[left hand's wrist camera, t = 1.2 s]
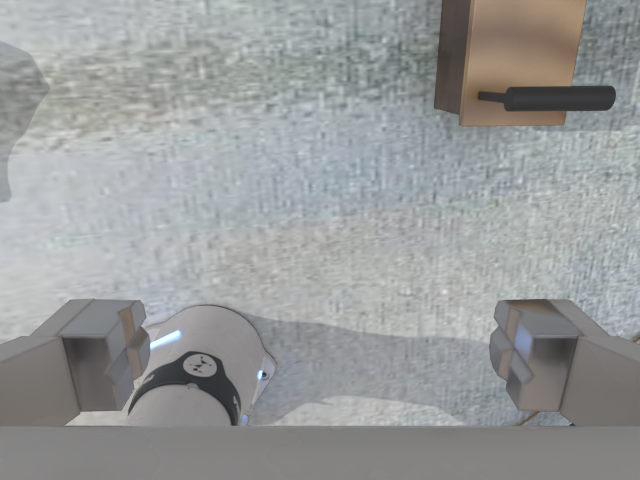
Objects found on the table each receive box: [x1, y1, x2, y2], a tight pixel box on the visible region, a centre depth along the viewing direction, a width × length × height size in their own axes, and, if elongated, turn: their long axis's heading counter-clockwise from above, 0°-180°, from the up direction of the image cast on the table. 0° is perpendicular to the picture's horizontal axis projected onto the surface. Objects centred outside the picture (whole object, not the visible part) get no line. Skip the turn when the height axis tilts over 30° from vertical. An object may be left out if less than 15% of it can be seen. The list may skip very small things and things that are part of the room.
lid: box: [459, 0, 616, 126], centre depth 34 cm, size 14×9×9 cm
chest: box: [434, 0, 471, 115], centre depth 43 cm, size 13×9×10 cm
